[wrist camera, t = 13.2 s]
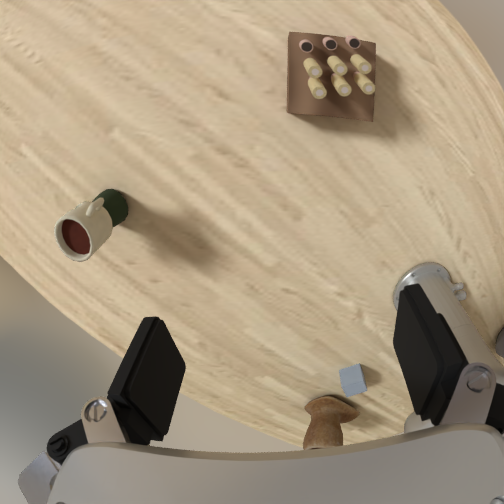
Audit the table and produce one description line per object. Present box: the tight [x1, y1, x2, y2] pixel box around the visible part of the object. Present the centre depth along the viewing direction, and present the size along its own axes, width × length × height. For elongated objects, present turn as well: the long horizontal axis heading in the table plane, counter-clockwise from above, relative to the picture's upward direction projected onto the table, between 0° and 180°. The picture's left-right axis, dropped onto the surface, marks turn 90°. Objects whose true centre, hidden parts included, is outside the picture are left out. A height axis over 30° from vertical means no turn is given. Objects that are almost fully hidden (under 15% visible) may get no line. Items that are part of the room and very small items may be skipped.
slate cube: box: [339, 363, 367, 397], centre depth 60 cm, size 5×5×5 cm
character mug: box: [54, 189, 128, 262], centre depth 41 cm, size 11×7×13 cm, turn 141°
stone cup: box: [303, 396, 360, 450], centre depth 64 cm, size 15×12×15 cm
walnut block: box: [287, 32, 376, 122], centre depth 33 cm, size 11×11×5 cm
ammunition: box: [299, 36, 376, 99], centre depth 28 cm, size 5×7×8 cm
